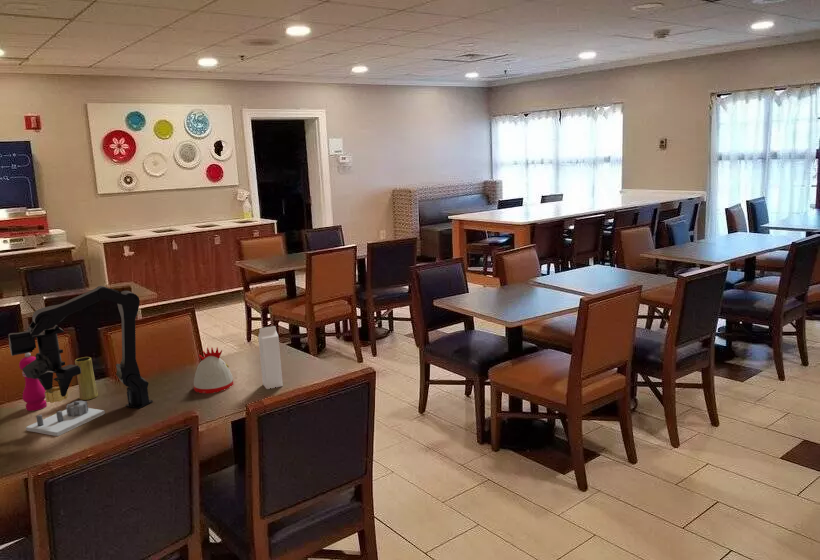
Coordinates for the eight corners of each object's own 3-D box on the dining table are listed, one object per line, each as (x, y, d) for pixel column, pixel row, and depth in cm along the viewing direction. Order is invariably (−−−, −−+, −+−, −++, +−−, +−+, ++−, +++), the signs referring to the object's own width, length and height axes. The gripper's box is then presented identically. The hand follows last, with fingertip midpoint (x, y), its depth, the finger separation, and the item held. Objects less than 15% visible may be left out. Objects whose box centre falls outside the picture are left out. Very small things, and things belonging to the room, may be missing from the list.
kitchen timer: (232, 390, 231) (228, 350, 228) (192, 395, 228) (187, 355, 225) (234, 378, 244) (230, 340, 241) (196, 382, 242) (192, 344, 239)
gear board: (105, 413, 215) (102, 399, 214) (57, 436, 199) (55, 420, 198) (75, 409, 220) (72, 394, 219) (26, 430, 204) (23, 415, 203)
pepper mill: (24, 413, 219) (14, 357, 215) (25, 406, 225) (15, 351, 221) (48, 408, 222) (39, 353, 218) (48, 402, 228) (39, 348, 224)
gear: (72, 396, 207) (70, 387, 207) (55, 403, 202) (53, 394, 201) (58, 394, 210) (57, 385, 209) (42, 401, 204) (40, 392, 204)
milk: (262, 384, 236) (256, 326, 232) (278, 381, 238) (273, 324, 234) (266, 389, 230) (260, 330, 226) (283, 386, 233) (277, 327, 229)
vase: (90, 400, 228) (84, 362, 225) (75, 400, 229) (69, 361, 226) (101, 394, 234) (96, 356, 231) (87, 393, 235) (81, 356, 232)
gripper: (4, 353, 199) (13, 401, 202) (46, 358, 192) (55, 408, 195) (37, 343, 209) (45, 388, 212) (78, 347, 202) (85, 394, 205)
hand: (56, 395), depth 206 cm, fingers closed on gear, 6 cm apart
